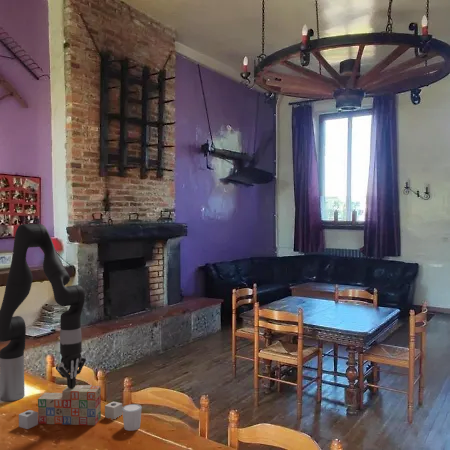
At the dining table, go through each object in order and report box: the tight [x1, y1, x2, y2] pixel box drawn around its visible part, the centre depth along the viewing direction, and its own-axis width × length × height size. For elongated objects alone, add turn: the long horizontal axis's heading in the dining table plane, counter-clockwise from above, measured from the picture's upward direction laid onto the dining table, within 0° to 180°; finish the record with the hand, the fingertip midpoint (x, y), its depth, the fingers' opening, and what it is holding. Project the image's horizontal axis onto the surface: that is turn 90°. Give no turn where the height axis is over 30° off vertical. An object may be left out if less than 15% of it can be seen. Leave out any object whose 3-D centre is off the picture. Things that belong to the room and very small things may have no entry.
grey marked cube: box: [18, 409, 39, 430], centre depth 169 cm, size 4×4×5 cm
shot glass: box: [122, 403, 143, 432], centre depth 167 cm, size 7×7×7 cm
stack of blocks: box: [37, 384, 102, 426], centre depth 172 cm, size 21×6×12 cm, turn 87°
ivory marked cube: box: [104, 401, 123, 420], centre depth 176 cm, size 4×4×5 cm
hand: (71, 387), depth 172 cm, fingers closed
